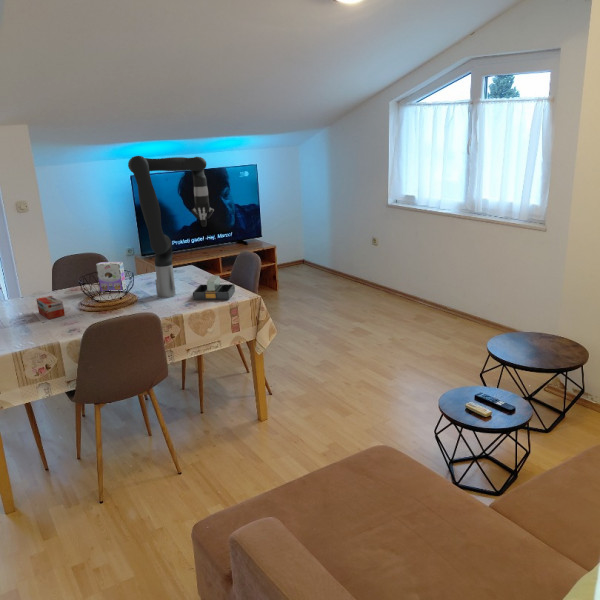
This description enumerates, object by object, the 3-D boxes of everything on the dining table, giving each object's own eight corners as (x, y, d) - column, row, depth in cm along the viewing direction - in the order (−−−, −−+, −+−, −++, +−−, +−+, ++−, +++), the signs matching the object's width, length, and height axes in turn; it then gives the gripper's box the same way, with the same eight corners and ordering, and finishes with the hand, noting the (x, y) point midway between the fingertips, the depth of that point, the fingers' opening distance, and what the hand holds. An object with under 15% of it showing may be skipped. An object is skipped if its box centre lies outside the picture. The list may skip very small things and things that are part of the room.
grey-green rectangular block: (208, 298, 307) (206, 281, 305) (213, 291, 319) (212, 275, 316) (215, 298, 307) (214, 281, 304) (220, 291, 318) (219, 275, 316)
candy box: (126, 289, 333) (123, 261, 328) (123, 292, 327) (119, 263, 322) (103, 289, 334) (99, 261, 329) (99, 292, 329) (95, 264, 324)
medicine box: (65, 316, 291) (62, 300, 288) (49, 320, 285) (46, 304, 283) (54, 309, 301) (51, 295, 299) (38, 313, 296) (35, 298, 294)
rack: (193, 300, 307) (192, 292, 305) (201, 291, 321) (200, 284, 320) (228, 300, 305) (228, 292, 303) (234, 291, 319) (234, 283, 318)
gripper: (187, 196, 311) (190, 227, 316) (211, 195, 309) (214, 227, 315) (191, 194, 318) (194, 225, 323) (214, 193, 316) (217, 224, 322)
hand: (204, 226), depth 319 cm, fingers closed
